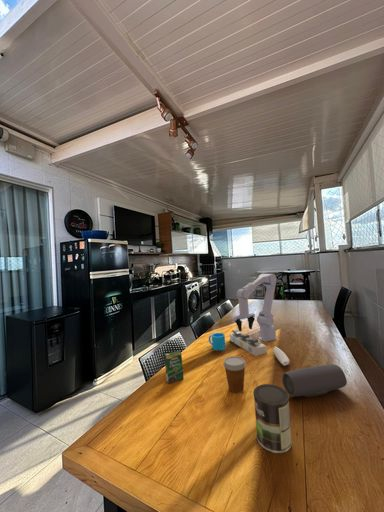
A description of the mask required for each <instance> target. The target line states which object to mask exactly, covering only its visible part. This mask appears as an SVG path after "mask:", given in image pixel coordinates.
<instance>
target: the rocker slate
mask: <svg viewBox="0 0 384 512" xmlns="http://www.w3.org/2000/svg"><path fill="white" fill-rule="evenodd" d="M248 342H250V343H257V342H260V341H259V339H257V338H252V339H249V340H248Z"/></svg>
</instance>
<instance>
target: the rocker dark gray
mask: <svg viewBox="0 0 384 512" xmlns="http://www.w3.org/2000/svg"><path fill="white" fill-rule="evenodd" d="M243 334H244V335H240V338H249V337H250V335H249V334H245V333H243Z"/></svg>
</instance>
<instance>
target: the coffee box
mask: <svg viewBox="0 0 384 512" xmlns="http://www.w3.org/2000/svg"><path fill="white" fill-rule="evenodd" d="M164 366H165V378H166V382H167V384H168V385H169V384H171V383H175V382H178V381H181V380H184V369H183V357H182V351H181V350H175V351H172V352H169V353H164Z"/></svg>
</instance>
